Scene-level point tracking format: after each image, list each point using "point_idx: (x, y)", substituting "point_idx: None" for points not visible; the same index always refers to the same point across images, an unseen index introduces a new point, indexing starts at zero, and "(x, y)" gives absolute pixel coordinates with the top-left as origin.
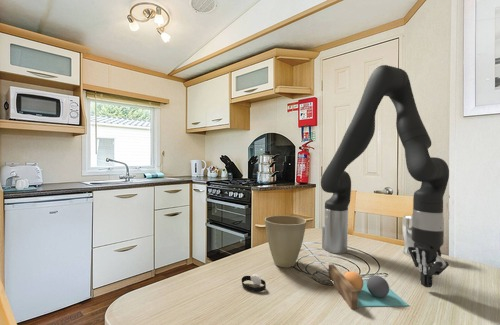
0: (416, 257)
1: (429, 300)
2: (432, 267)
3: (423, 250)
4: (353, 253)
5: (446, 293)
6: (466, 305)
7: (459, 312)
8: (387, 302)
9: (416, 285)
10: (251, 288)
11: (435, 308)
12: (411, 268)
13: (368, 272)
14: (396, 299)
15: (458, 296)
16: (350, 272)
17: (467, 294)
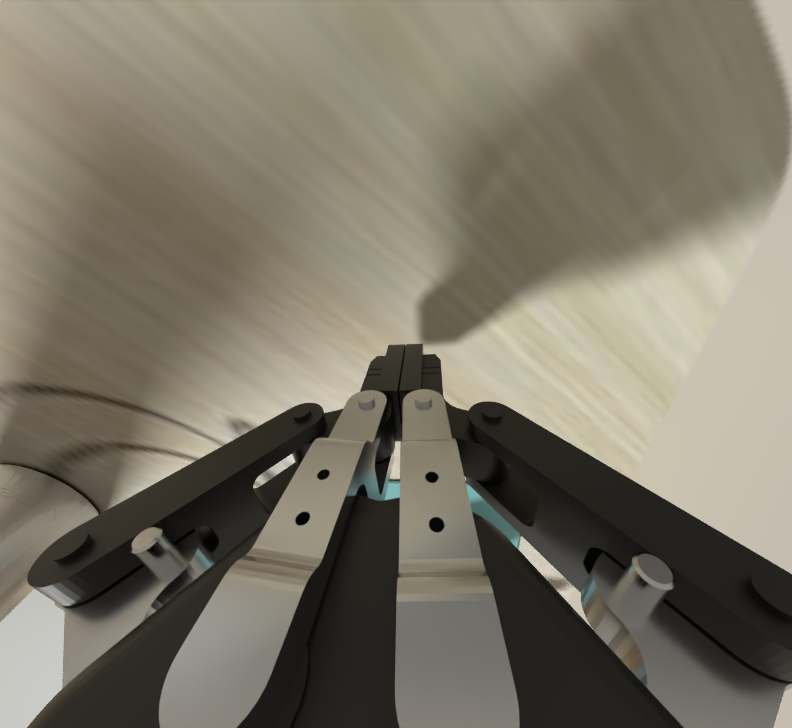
0: (264, 517)
1: (501, 389)
2: (544, 547)
3: None
4: (40, 451)
5: (433, 234)
6: (592, 208)
7: (636, 321)
8: (501, 531)
9: (346, 356)
10: None
11: (569, 408)
12: (73, 233)
13: (255, 481)
14: (485, 501)
15: (476, 166)
16: None
17: (450, 27)
